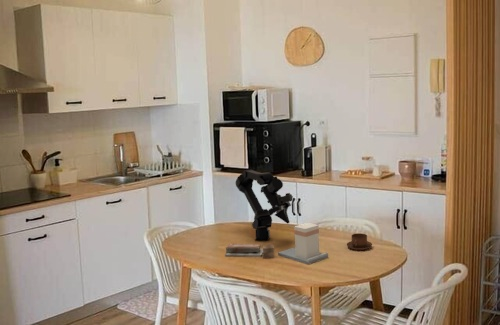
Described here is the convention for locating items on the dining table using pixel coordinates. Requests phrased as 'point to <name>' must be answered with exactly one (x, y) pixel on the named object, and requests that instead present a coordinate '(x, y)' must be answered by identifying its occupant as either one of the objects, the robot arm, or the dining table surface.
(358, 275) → the dining table surface
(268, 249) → the walnut block
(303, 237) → the carton
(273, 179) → the robot arm
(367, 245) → the cup and saucer
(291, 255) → the podium
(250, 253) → the packaged product
